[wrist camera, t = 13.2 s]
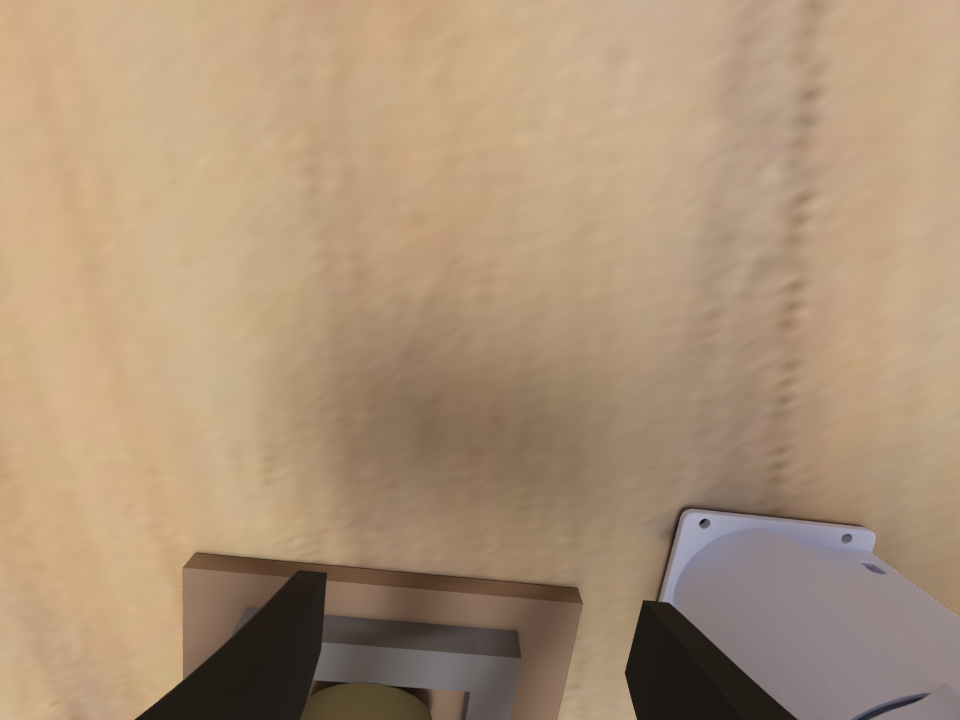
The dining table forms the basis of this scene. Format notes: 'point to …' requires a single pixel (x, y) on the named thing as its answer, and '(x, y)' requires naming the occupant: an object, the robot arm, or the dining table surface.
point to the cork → (364, 704)
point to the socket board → (395, 601)
